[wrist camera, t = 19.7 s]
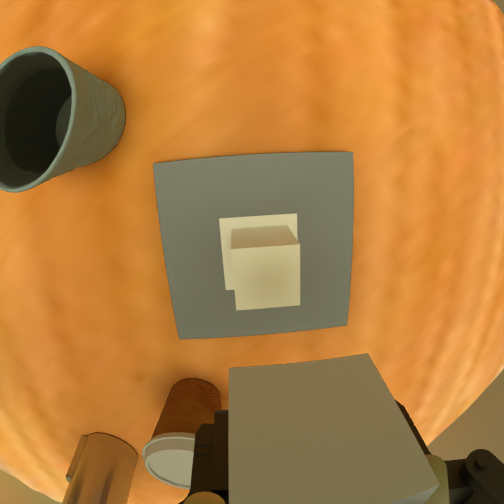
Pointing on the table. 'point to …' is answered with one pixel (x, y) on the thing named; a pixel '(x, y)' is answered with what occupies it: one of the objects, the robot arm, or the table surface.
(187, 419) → the disposable coffee cup
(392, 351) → the table surface
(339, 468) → the blue grey block
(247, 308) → the cream block
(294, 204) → the board
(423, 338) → the table surface
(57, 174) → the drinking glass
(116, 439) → the robot arm
